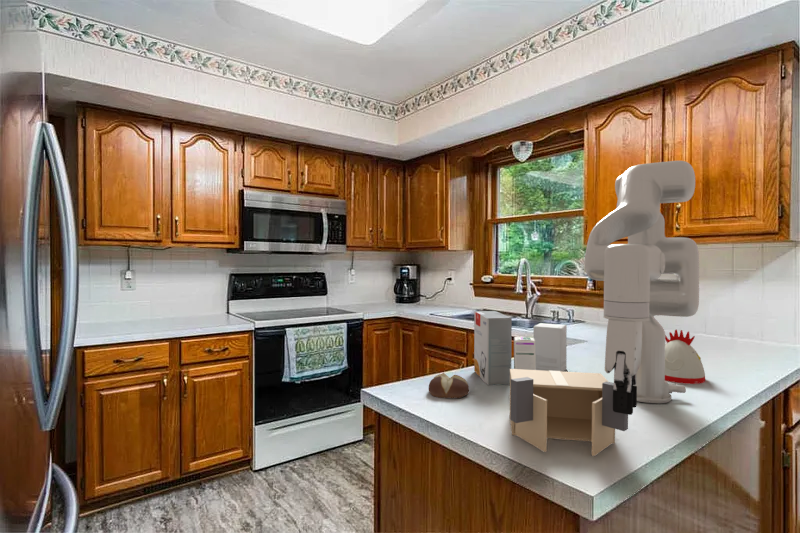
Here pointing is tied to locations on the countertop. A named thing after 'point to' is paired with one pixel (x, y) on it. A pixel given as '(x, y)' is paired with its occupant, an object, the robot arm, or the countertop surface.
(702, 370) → the kitchen timer
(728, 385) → the countertop surface
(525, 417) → the flap left
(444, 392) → the bread
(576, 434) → the carton
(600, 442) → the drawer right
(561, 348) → the supplement box
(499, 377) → the hard drive box
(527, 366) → the syrup box
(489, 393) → the countertop surface
